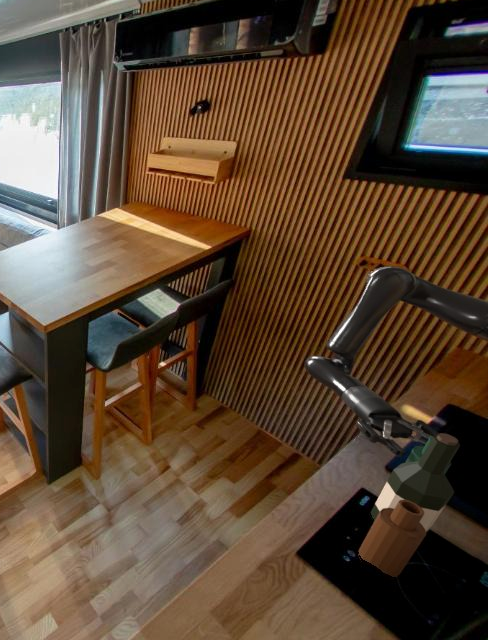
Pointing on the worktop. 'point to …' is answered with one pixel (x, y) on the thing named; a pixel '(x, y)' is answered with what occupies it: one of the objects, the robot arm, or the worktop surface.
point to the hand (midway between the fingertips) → (425, 455)
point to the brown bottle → (394, 537)
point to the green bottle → (420, 454)
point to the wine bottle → (422, 481)
